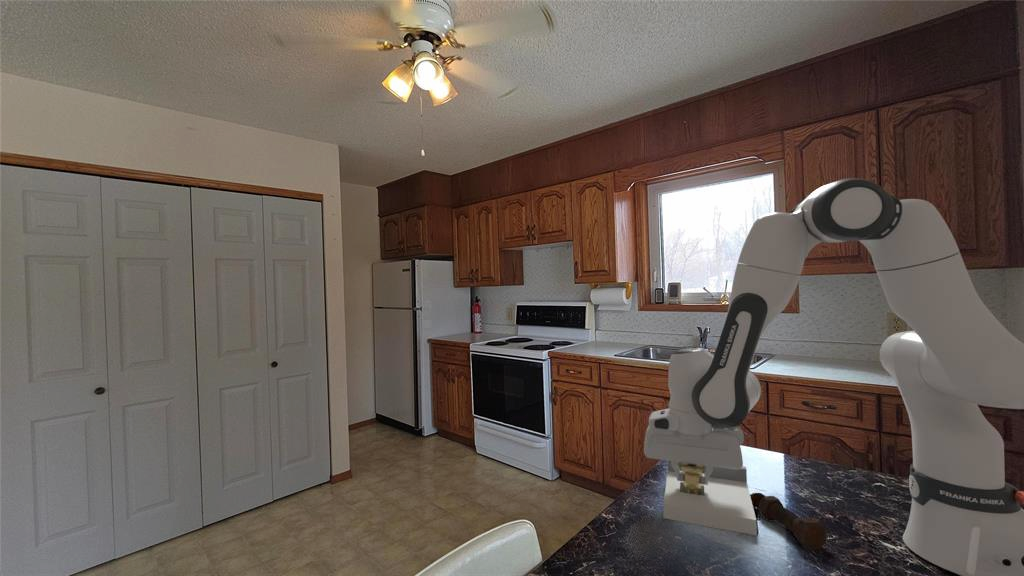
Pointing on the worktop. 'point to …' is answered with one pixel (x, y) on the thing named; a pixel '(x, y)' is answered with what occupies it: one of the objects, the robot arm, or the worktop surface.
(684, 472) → the bushing
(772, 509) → the bolt
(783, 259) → the robot arm
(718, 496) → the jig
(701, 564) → the worktop surface
